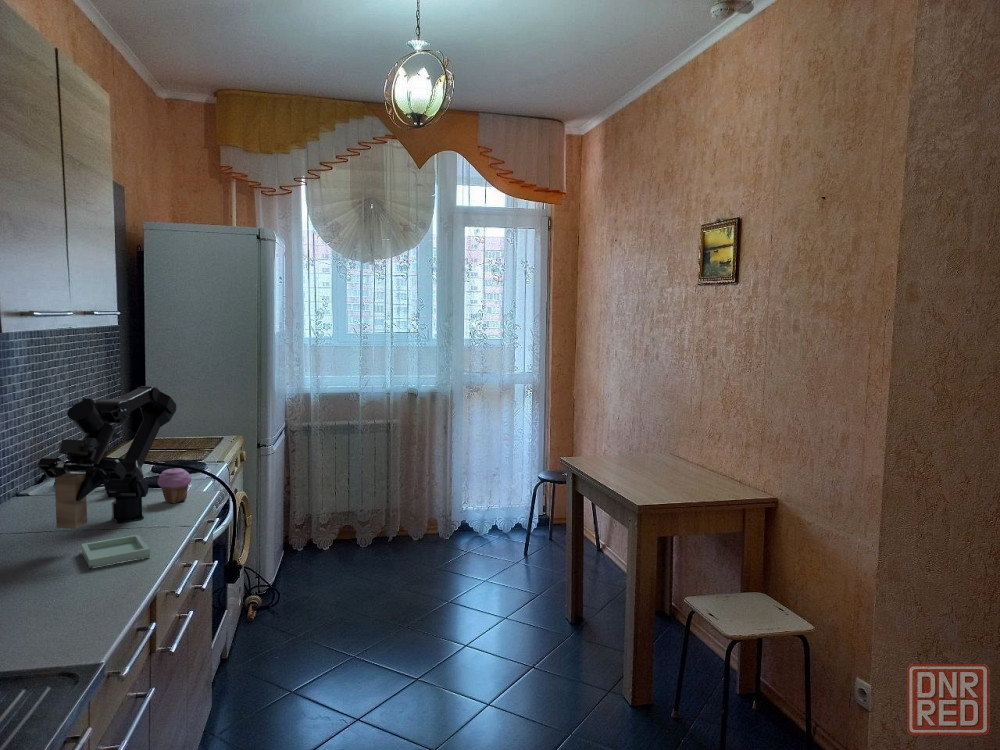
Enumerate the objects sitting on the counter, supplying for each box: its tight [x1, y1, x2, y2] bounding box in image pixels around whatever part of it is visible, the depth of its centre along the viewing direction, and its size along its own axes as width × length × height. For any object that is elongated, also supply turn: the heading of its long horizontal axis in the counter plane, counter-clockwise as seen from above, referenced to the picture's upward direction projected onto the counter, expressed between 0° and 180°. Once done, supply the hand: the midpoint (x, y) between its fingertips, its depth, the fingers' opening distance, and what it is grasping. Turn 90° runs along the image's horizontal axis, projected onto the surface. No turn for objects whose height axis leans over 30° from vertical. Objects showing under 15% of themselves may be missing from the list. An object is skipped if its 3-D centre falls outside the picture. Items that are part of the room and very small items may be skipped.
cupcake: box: [157, 467, 192, 504], centre depth 197 cm, size 9×9×10 cm
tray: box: [81, 534, 151, 569], centre depth 154 cm, size 12×12×2 cm
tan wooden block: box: [54, 472, 88, 530], centre depth 156 cm, size 4×4×12 cm
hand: (67, 499), depth 155 cm, fingers closed on tan wooden block, 4 cm apart
